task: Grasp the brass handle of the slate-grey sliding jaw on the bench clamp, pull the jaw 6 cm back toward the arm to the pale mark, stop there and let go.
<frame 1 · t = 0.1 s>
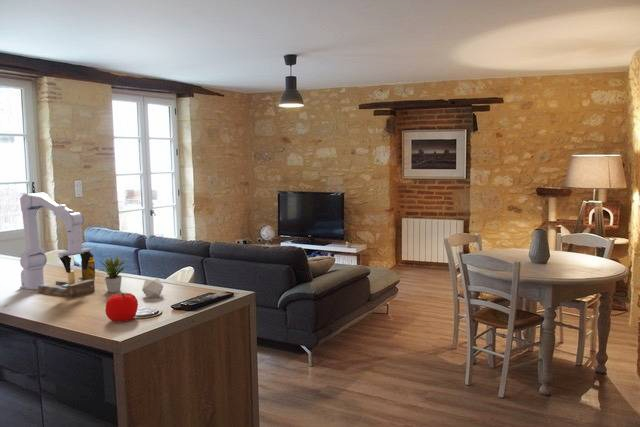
hand: (76, 270, 231), 10 cm above the table, tool pointing down, fingers open, 7 cm apart
bench clamp: (66, 291, 236), on the table
tomato: (123, 320, 194), on the table
house plant: (114, 291, 235), on the table
condiment: (86, 279, 260), on the table
die: (153, 297, 226), on the table
sliding jaw: (71, 280, 233), point 6 cm above the table, slide at 0.0 cm
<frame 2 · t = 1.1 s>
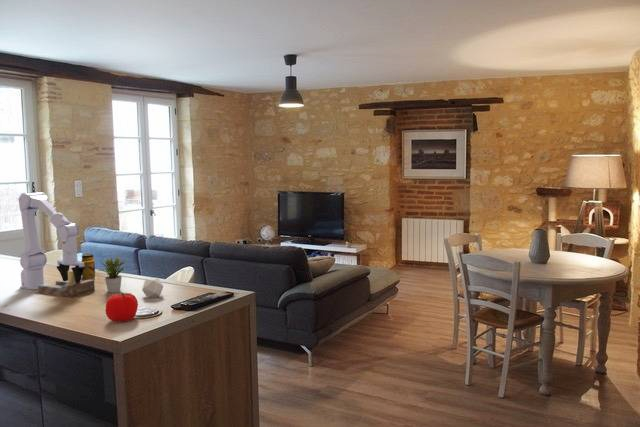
hand: (71, 281, 233), 5 cm above the table, tool pointing down, fingers open, 7 cm apart
nothing on the table moved.
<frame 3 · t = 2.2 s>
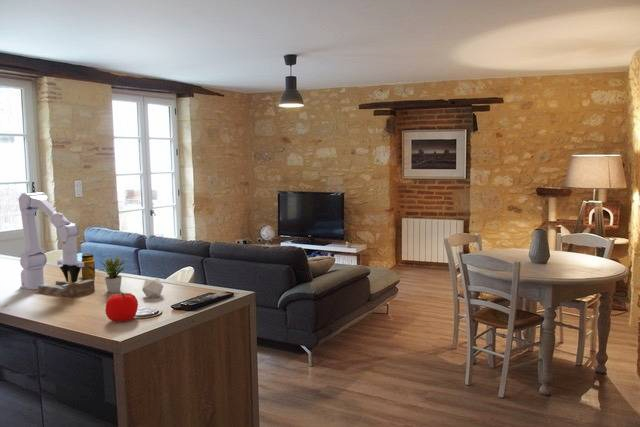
hand: (71, 281, 233), 5 cm above the table, tool pointing down, fingers closed on sliding jaw, 3 cm apart
sliding jaw: (71, 280, 233), point 6 cm above the table, slide at 0.0 cm, touching gripper
everything else where it was.
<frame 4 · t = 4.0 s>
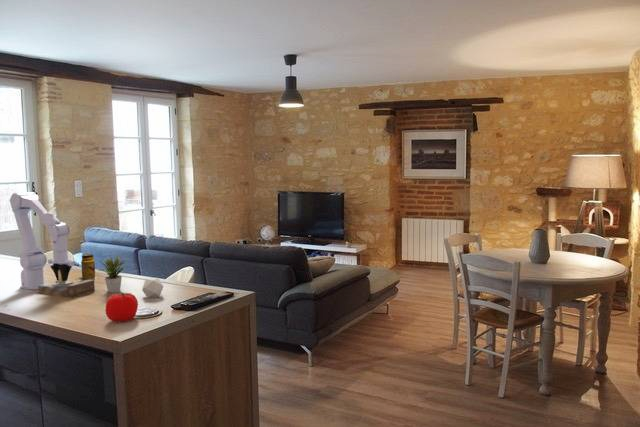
hand: (62, 280, 236), 5 cm above the table, tool pointing down, fingers closed on sliding jaw, 3 cm apart
sliding jaw: (62, 278, 236), point 6 cm above the table, slide at 6.0 cm, touching gripper
everything else where it was.
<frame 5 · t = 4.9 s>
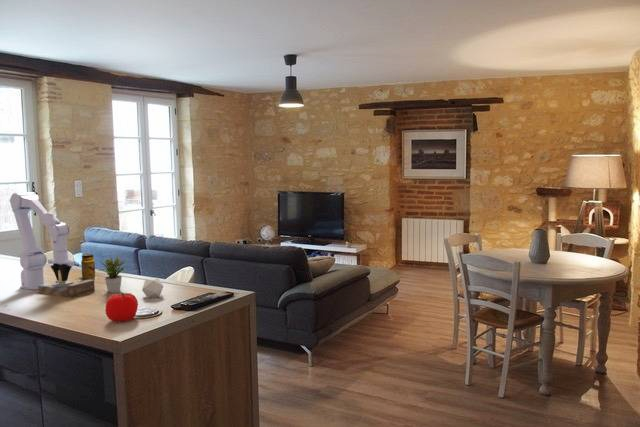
hand: (62, 280, 236), 5 cm above the table, tool pointing down, fingers closed on sliding jaw, 3 cm apart
sliding jaw: (62, 278, 236), point 6 cm above the table, slide at 6.0 cm, touching gripper
everything else where it was.
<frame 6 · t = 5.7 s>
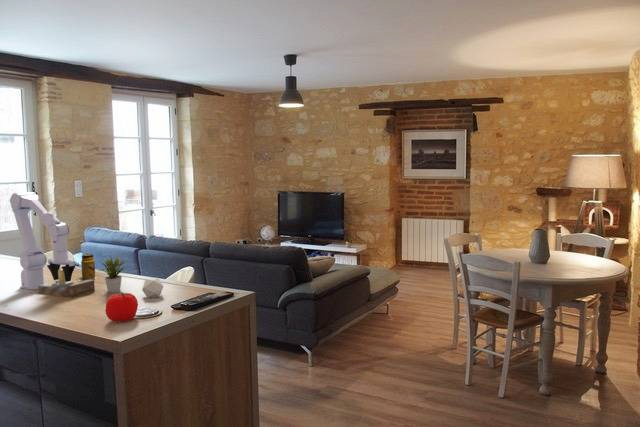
hand: (62, 280, 236), 5 cm above the table, tool pointing down, fingers open, 7 cm apart
sliding jaw: (62, 278, 236), point 6 cm above the table, slide at 6.0 cm
everything else where it was.
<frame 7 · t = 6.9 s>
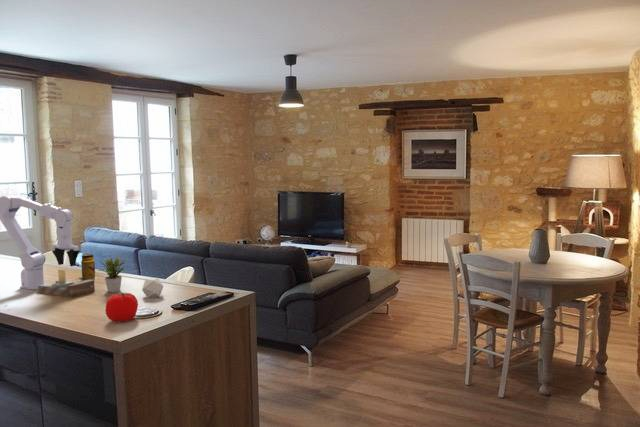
hand: (66, 265, 242), 10 cm above the table, tool pointing down, fingers open, 7 cm apart
nothing on the table moved.
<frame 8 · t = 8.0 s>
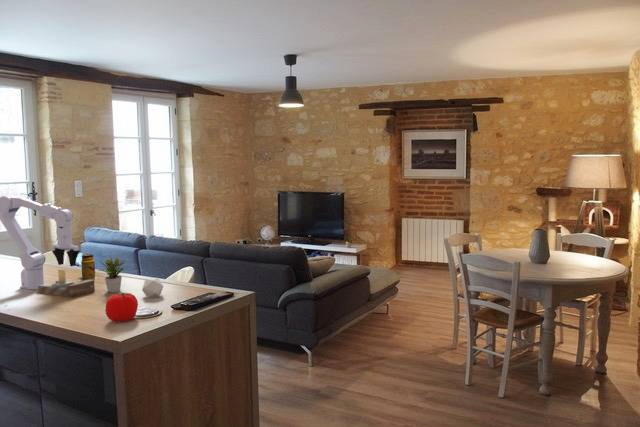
hand: (66, 265, 242), 10 cm above the table, tool pointing down, fingers open, 7 cm apart
nothing on the table moved.
at the end: sliding jaw slide at 6.0 cm; the gripper is holding nothing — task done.
